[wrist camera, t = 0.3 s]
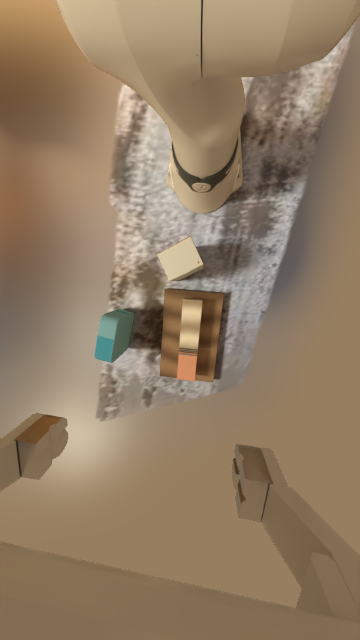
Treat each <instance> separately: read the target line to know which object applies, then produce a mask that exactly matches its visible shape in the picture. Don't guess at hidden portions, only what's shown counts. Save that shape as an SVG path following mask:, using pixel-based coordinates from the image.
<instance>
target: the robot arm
mask: <svg viewBox="0 0 360 640" xmlns="http://www.w3.org/2000/svg"><path fill="white" fill-rule="evenodd" d="M55 2H56V4H57V7H58V9H59V11H60V14H61V16H62V18H63V20H64V22H65V24H66V26H67V28H68V30H69V32H70V33H71V35H72V37H73V39H74V40H75V42H76V44H77V45H78V47H79V48H80V49H81V51H82V53H83V54H84V55H85V56H86V58H87V59H88V60H89V61H90V63H91V64H92V65H93V66H94V67H96V68H98V69H99V70H101V71H103V72H106V73H107V74H109V75H111V76H113V77H115V78H116V79H118V80H120V81H121V82H123V83H124V84H126V85H127V86H129V87H130V88H131V89H133V90H134V91H135V92H136V93H138V94H139V95H140V96H141V97H142V98H143V99H144V100H145V101H146V102H147V103H148V104H149V105H150V106H151V107H152V108H153V109H154V110H155V111H156V112H157V113H158V114H159V116H160V117H161V118H162V119H163V121H164V122H165V123H166V125H167V127H168V129H169V132H170V136H171V141H172V149H171V150H170V157H171V159H170V164H169V168H168V173H167V177H166V183H167V185H168V186H169V187H170V188H171V189H172V190H173V191H175V193H176V194H177V196H178V198H179V200H180V202H181V203H182V204H183V205H184V206H185V207H186V208H187V209H189V210H191V211H193V212H196V213H208V212H212V211H214V210H216V209H217V208H219V207H220V206H221V205H222V204H223V203H224V202H225V201H226V200H227V198H228V197H229V196H230V195H231V194H232V193H233V192H235V191H236V190H238V189H239V188H240V187H241V186H242V183H243V172H242V153H241V134H240V126H241V122H242V118H243V114H244V107H245V95H244V88H243V84H242V80H241V77H261V76H272V75H275V74H279V73H282V72H286V71H289V70H293V69H296V68H299V67H301V66H304V65H307V64H310V63H313V62H316V61H319V60H321V59H323V58H324V57H325V56H326V55H327V54H328V53H329V52H330V51H331V50H332V49H333V48H334V47H335V46H336V45H337V44H338V43H339V41H340V40H341V39H342V38H343V37H344V36H345V34H346V33H347V32H348V30H349V29H350V28H351V26H352V25H353V24H354V22H355V21H356V20H357V18H358V17H359V15H360V0H55ZM237 176H239V178H237ZM66 426H67V419H65V418H62V417H56V416H51V415H44V414H39V413H36V414H33V415H31V416H30V417H29V418H28V419H26V420H25V421H24V422H22V423H21V424H20V425H19V426H17V427H16V428H15V429H14V430H12V431H11V432H10V433H8V434H7V435H6V436H5V437H3V438H2V439H1V438H0V491H2V490H3V489H5V488H6V487H8V486H9V485H11V484H12V483H14V482H15V481H17V480H18V479H20V477H24V478H31V479H37V480H39V479H40V478H41V477H42V476H43V474H44V473H45V472H46V471H47V470H48V469H49V467H50V466H51V464H52V459H54V458H56V457H58V456H59V455H60V454H61V453H62V451H63V450H64V448H65V446H66V444H67V440H68V433H67V431H66V430H65V428H66ZM234 452H235V457H236V458H234V459H233V465H232V477H233V486H234V487H235V489H236V490H237V492H236V497H235V499H236V504H237V511H238V517H239V518H244V519H248V520H253V521H257V522H262V523H261V524H262V526H263V527H264V529H265V530H266V532H267V534H268V535H269V537H270V539H271V540H272V542H273V543H274V545H275V547H276V548H277V550H278V551H279V553H280V554H281V556H282V558H283V559H284V561H285V563H286V564H287V566H288V567H289V569H290V570H291V572H292V574H293V575H294V577H295V579H296V580H297V582H298V583H299V585H300V586H301V588H302V589H301V593H300V596H299V599H298V602H297V606H296V608H293V607H288V606H284V605H280V604H275V603H271V602H266V601H262V600H257V599H253V598H249V597H244V596H240V595H235V594H231V593H227V592H222V591H218V590H213V589H209V588H205V587H200V586H195V585H191V584H187V583H182V582H178V581H174V580H169V579H165V578H160V577H156V576H152V575H147V574H142V573H138V572H134V571H129V570H125V569H121V568H116V567H112V566H107V565H103V564H98V563H94V562H89V561H85V560H80V559H76V558H72V557H67V556H62V555H58V554H54V553H49V552H45V551H40V550H36V549H32V548H27V547H23V546H18V545H14V544H9V543H5V542H1V541H0V640H360V555H359V554H358V553H357V552H356V551H355V550H354V549H353V548H352V547H351V546H350V545H349V544H348V543H347V542H346V541H345V540H344V539H343V538H342V537H341V536H340V535H339V534H338V533H337V532H336V531H335V530H334V529H333V528H332V527H331V526H330V525H329V524H328V523H327V522H326V521H325V520H324V519H323V518H322V517H321V516H320V515H319V514H318V513H317V512H316V511H315V510H314V509H313V508H312V507H311V506H310V505H309V504H308V503H307V502H306V501H305V500H304V499H303V498H302V497H301V496H300V495H299V494H298V493H297V492H296V491H295V490H294V489H293V488H290V487H288V485H287V482H286V480H285V478H284V475H283V474H282V471H281V469H280V466H279V464H278V462H277V459H276V457H275V455H274V452H273V451H272V449H269V448H260V447H253V446H246V445H238V444H236V446H235V451H234Z"/></svg>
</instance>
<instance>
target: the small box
mask: <svg viewBox="0 0 360 640" xmlns="http://www.w3.org/2000/svg"><path fill="white" fill-rule="evenodd" d="M157 255H158V257H159V260H160V262H161V264H162V266H163V268H164V270H165V273H166V275H167V277H168V279H169V281H179V280H181V279H183V278H185V277H187V276H189V275H191V274H193V273H195V272H197V271H199V270H201V269H203V262H202V259H201V257H200V255H199V253H198V251H197V248H196V246H195V244H194V242H193V240H192V238H191V236H190V237H188V238H186V239H184V240H182V241H181V242H179V243H177V244H175V245H173V246H171V247H170V248H168V249H166V250H164V251H162V252H160V253H159V254H157Z"/></svg>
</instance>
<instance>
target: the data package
mask: <svg viewBox="0 0 360 640" xmlns="http://www.w3.org/2000/svg"><path fill="white" fill-rule="evenodd" d="M134 316H135V314H134V313H133V312H130V311H126V310H122V309H118V310H115V311H112V312H109V313H106V314H104V315H103V316H102V317H101V319H100V324H99V330H98V337H97V344H96V350H95V358H96V359H100V360H103V361H107V362H110V363H113V362H114V361H115V360H116V359H117V358H118V357H119V356H120V355H122V354H123V353H124V352H125V351H126V350H127V349H128V346H129V342H130V337H131V332H132V327H133V322H134Z"/></svg>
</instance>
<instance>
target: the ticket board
mask: <svg viewBox="0 0 360 640" xmlns="http://www.w3.org/2000/svg"><path fill="white" fill-rule="evenodd" d="M223 297H224V294H223V293H213V292H200V291H188V290H175V289H165V294H164V312H163V330H162V348H161V366H160V376H166V377H174V378H177V370H178V357H179V351H185V352H194V353H197V362H196V373H195V380H198V381H206V382H213V380H214V372H215V364H216V355H217V347H218V339H219V330H220V322H221V314H222V306H223Z"/></svg>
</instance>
